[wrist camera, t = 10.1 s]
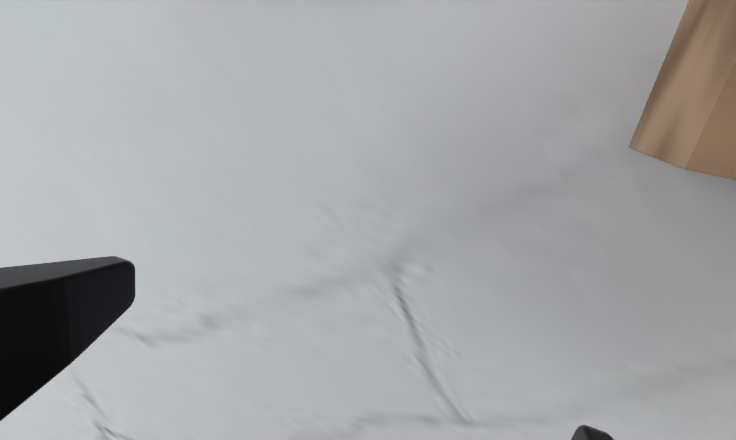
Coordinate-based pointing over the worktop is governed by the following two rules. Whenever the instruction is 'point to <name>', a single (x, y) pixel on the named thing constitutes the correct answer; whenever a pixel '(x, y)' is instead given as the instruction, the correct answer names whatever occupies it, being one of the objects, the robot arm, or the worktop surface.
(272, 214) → the worktop surface
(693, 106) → the walnut block
